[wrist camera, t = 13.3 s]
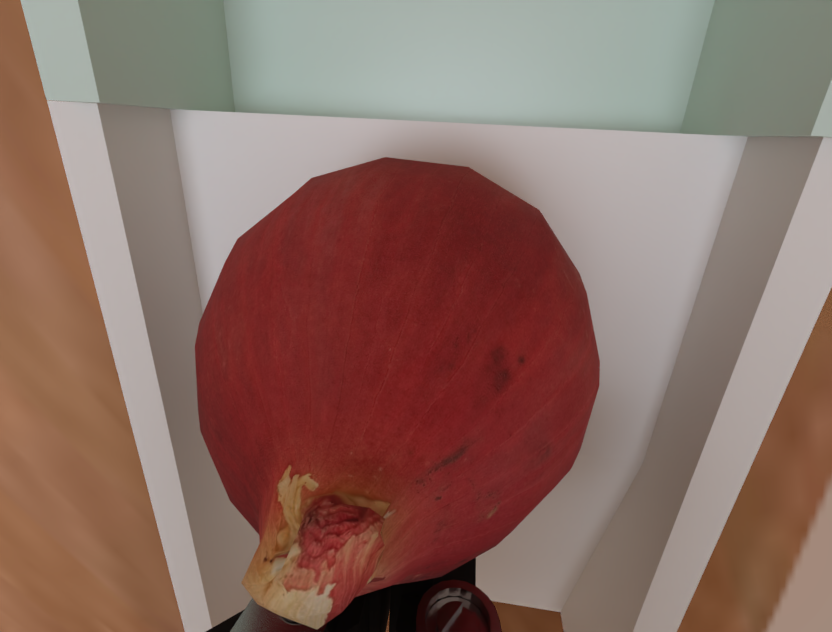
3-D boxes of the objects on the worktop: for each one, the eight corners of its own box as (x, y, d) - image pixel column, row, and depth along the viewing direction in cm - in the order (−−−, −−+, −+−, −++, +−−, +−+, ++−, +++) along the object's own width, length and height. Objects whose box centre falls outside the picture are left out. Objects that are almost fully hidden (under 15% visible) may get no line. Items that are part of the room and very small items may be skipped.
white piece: (580, 593, 18) (617, 763, 13) (268, 543, 20) (197, 680, 15) (714, 138, 11) (897, 140, 6) (214, 113, 13) (46, 100, 8)
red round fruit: (569, 367, 11) (763, 871, 3) (353, 401, 12) (153, 818, 5) (530, 118, 9) (786, 22, 1) (276, 190, 10) (-284, 338, 3)
